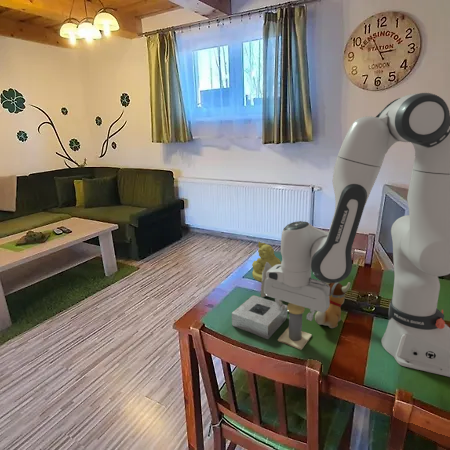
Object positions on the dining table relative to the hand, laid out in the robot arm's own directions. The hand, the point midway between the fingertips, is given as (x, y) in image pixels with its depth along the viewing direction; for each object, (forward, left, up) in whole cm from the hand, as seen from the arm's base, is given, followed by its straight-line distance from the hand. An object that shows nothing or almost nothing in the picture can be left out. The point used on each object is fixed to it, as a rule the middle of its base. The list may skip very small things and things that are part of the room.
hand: (295, 314), depth 102 cm
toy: (-6, -14, -9) cm, 18 cm away
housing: (+14, -2, -9) cm, 17 cm away
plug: (0, 0, -8) cm, 8 cm away
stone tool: (+20, -19, -9) cm, 29 cm away
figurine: (+29, -35, -9) cm, 46 cm away
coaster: (0, 0, -9) cm, 9 cm away
